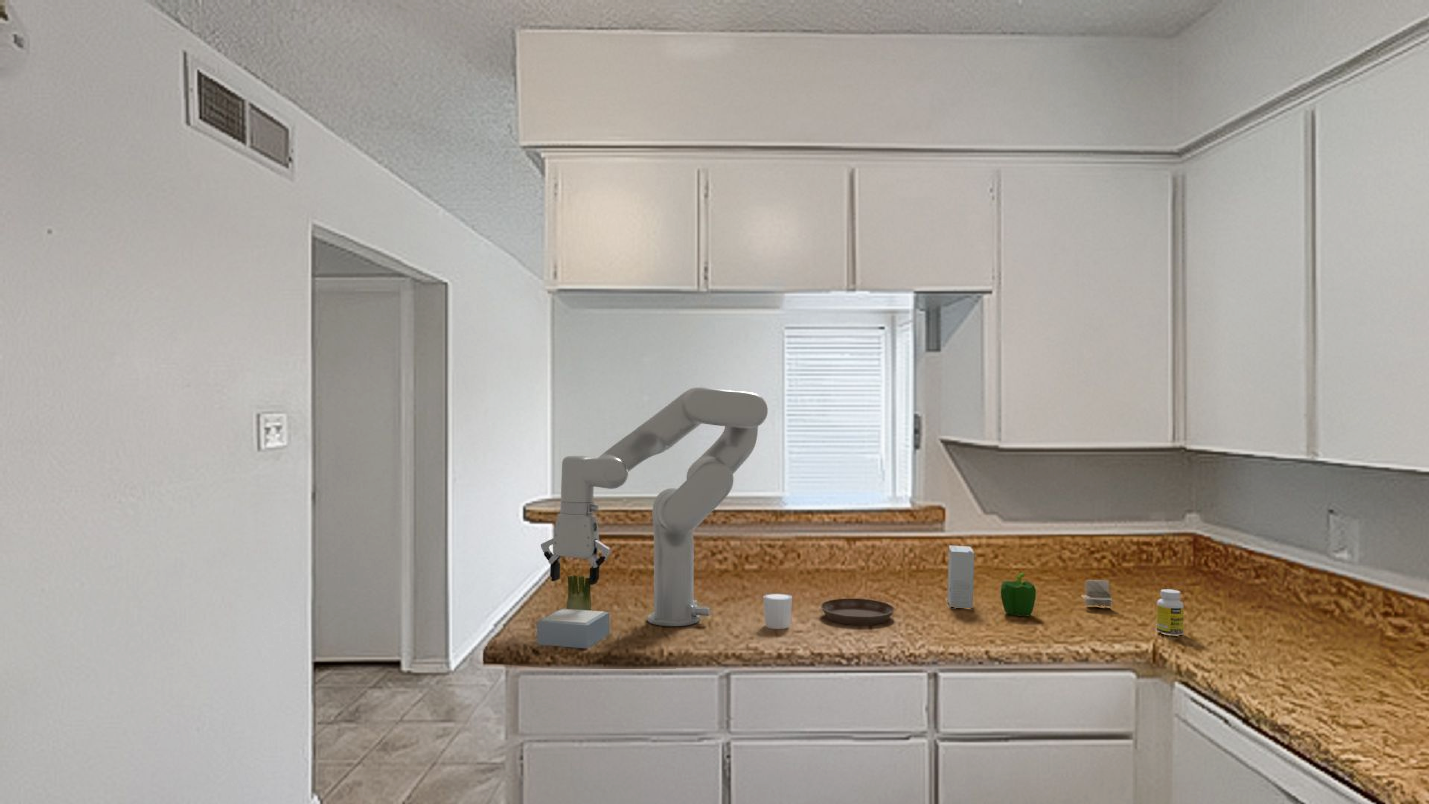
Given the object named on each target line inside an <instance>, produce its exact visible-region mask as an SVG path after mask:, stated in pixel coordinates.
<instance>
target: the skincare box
mask: <svg viewBox="0 0 1429 804" xmlns="http://www.w3.org/2000/svg"><path fill="white" fill-rule="evenodd" d="M947 570H948V571H947V573H948V574H947V576H948V577H947V603H948V606H949V608H950V607H957V608H973V609H974V583H975V582H974V581H975V580H974V574H975V552H974V550H973V548H972V547H971V546H969V545H968V546H967V545H966V546H965V545H949V546H948V569H947Z"/></svg>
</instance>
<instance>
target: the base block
mask: <svg viewBox="0 0 1429 804" xmlns="http://www.w3.org/2000/svg"><path fill="white" fill-rule="evenodd" d="M609 635H610V612H609V611H608V612H607V611H603V610H602V611H601V610H599V611H598V610H591V611H588V610H574V609H566V608H560V609H558V610H556V611H554V612H552V613H550V614H548V615H547V616H544V617H541V618H540V619H539V620H537V621H536V645H539V646H552V647H565V648H575V649H590V648H591V647H593V646H594V645H596V644H597V643H599V642H600V641H602V640H604V639H605V638H606V637H608V636H609Z"/></svg>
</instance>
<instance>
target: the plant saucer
mask: <svg viewBox="0 0 1429 804" xmlns="http://www.w3.org/2000/svg"><path fill="white" fill-rule="evenodd" d="M820 608H821V610H822V612H823V613H824V614H825V615H826V617H827V618H828V619H829V620H831V621H832V622H835V623H839V624H844V625H851V626H872V625H879V624H882V623H885V622H887V620H889V619H890V617H891V616H892V615H893V613H894V612H895V607H894V606H893V605H891V604H889V603H888V602H887V603H886V602H883V601H879V600H877V599H876V600H875V599H868V598H852V597H850V598H848V597H847V598H836V599H831V600H827V601H824V602H822V603H821V604H820Z"/></svg>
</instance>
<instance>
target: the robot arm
mask: <svg viewBox="0 0 1429 804" xmlns="http://www.w3.org/2000/svg"><path fill="white" fill-rule="evenodd" d="M768 411H769V408H768V405H767V402H766V401H765V399H764V398H763V397H762V396H761V395H760V394H757V393H754V392H748V391H737V390H736V391H735V390H727V389H726V390H725V389H717V388H710V387H702V386H700V387H692V388H688V390H686V391H684V392H683V393H682V394H680V395H679V396H677V397H676V398H675V399H673V400H672V401H671V402H669V403H668V404H667V405H666V406H664V407H663V408H662V409H661V410H660V411H658V412H657V413H655V414H654V415H652V416H651V417H650V418H649V419H648V420H646V421H645V422H643V423H642V424H641V425H639V426H638V427H636V428H635V430H633V431H632V432H629V434H627V435H626V436H624V437H623V438H621V439H620V440H618V442H616V443H615V444H613V445H612V446H611V447H609V448H608V449H607V450H606V451H604V452H603V453H602V454H600V455H599V456H598V457H597V458H596V457H595V458H592V457H590V456H586V455H569V456H565V457H564V458H563V459H562V462H561V481H560V482H561V483H560V484H561V485H560V509H559V512H560V513H558V514H557V518H556V520H555V526H554V530H553V531H554V532H553V538H551V539H549V540H546V541H545V542H542V543H541V544H540V548H541V550H542V552H543V556H544V557H545V558H546V560H547V561H548V564H549V565H550V566H549V567H550V569H549V570H550V573H549V575H550V577H551V580H550V581H551V582H556V581H558V580H560V578H561V563H560V562H559V560H560V559H561V558H567V559H568V558H569V559H570V558H571V559H581V560H583V559H584V560H586V559H587V560H588V561H587V562H589V564H590V565H591V567H590V568H589V577H590V581H589V584H590V585H591V586H593V585H595V584H598V581H599V580H600V567H601V566H602V564H604V563H605V562H606V561H607V559H608V557H609V555H610V553H611V551H612V550H611V547H609V546H607V545H605V544H604V543H603V542H601V541H600V535H599V534H600V533H599V523H598V517H597V514H594V513H595V512H598V511H599V505H596V504H595V501H594V487H595V488H603V489H607V490H613V489H614V490H615V489H618V488H620V487H621V486H623V485H624V484H625V483H626V481H627V479H628V477H629V472H631V471H632V470H633V469H634V468H636V467H637V466H638V465H640V464H641V463H643V462H645V461H646V460H647V459H649V458H652V457H654V456H656V455H657V456H658V455H659V454H662V453H664V452H665V451H668V450H670V448H672V447H674V446H675V445H676V444H677V443H678V442H679V441H681V440H682V439H683V438H684V437H686V436H688V435H689V434H690V433H691V432H693V431H694V430H695V429H697V428H698V427H699V426H700V425H701V424H704V425H711V426H718V427H719V426H720V427H724V428H723V432H722V433H721V435H720V436H719V437H718V438H717V440H715V441H714V443H713V444H712V445H711V446H710V447H708V449H707V450H706V451H705V452H704V453H703V454H702V455H701V456H699V457H698V458H697V459H696V460H695V461H694V462H693V463H691V465H690V467H689V468H688V469H687V472H686V476H685V477H686V478H685V481H684V482H683V483H682V484H681V485H680V486H679V487H678V488H675V487H673V488H672V487H671V488H666V489H664V490H662V491H660V492H659V494H658V495H657V496H656V497H655V499H654V502H653V504H652V510H651V511H652V527H653V529H652V531H653V601H654V602H653V611H652V612H650V613H649V614H648V615H647V622H649V624H652V625H654V626H656V625H657V626H662V627H685V626H686V627H687V626H692V625H694V623H695V624H697V623H699V622H700V621H701V616H702V617H710V616H711V608H710V607H708V606H705V605H704V606H703V605H702V606H700V605H699V604H698V600H697V599H694V582H695V581H694V579H695V578H694V575H695V574H694V566H695V565H694V559H695V557H694V556H695V554H694V553H695V550H694V549H695V548H694V547H695V542H694V530H695V529H696V528H697V527H698V526H699V525H700V524H701V523H702V522H704V520H705V519H706V518H707V517H708V516H709V515H710V514H711V513H712V512H713V511H714V510H715V509H716V508H718V506H719V505H720V504H721V503H722V502H723V501H724V500H726V498H727V497H728V496H729V494H730V492H731V490H733V489H732V488H733V486H734V485H733V484H734V474H735V473H736V472H737V471H738V470H739V469H740V468H741V466H742V465H743V464H744V463H745V462H746V461H747V459H748V458H749V457H750V455H751V454H752V452H753V451H754V449H755V446H756V444H757V440H758V432H759V430H758V429H759V426H760V425H762V424H763V423H764V422H765V420H766V419H767V417H768ZM551 546H552V551H551V550H550V547H551ZM600 551H601V555H600V557H598V555H599V553H600Z"/></svg>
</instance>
